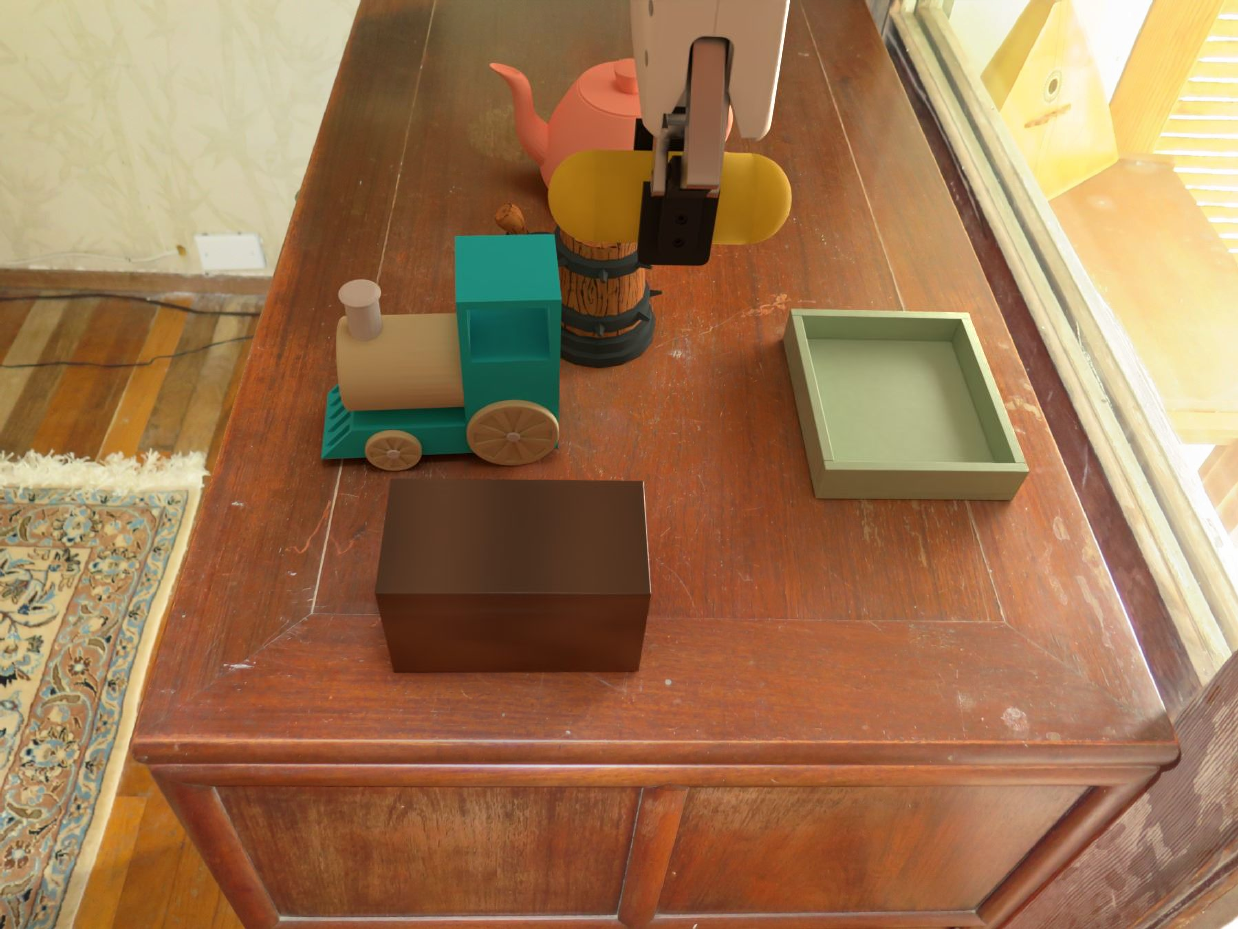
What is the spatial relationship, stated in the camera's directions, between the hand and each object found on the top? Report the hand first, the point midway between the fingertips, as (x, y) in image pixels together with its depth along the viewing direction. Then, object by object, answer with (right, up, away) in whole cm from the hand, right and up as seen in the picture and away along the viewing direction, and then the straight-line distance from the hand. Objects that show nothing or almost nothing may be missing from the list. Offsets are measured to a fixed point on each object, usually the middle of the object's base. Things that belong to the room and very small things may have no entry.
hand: (668, 224), depth 46 cm
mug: (-6, 0, +35) cm, 36 cm away
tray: (+19, -7, +31) cm, 37 cm away
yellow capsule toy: (0, 0, 0) cm, 0 cm away
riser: (-9, -21, +18) cm, 28 cm away
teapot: (-3, +15, +47) cm, 50 cm away
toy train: (-15, -9, +27) cm, 32 cm away
